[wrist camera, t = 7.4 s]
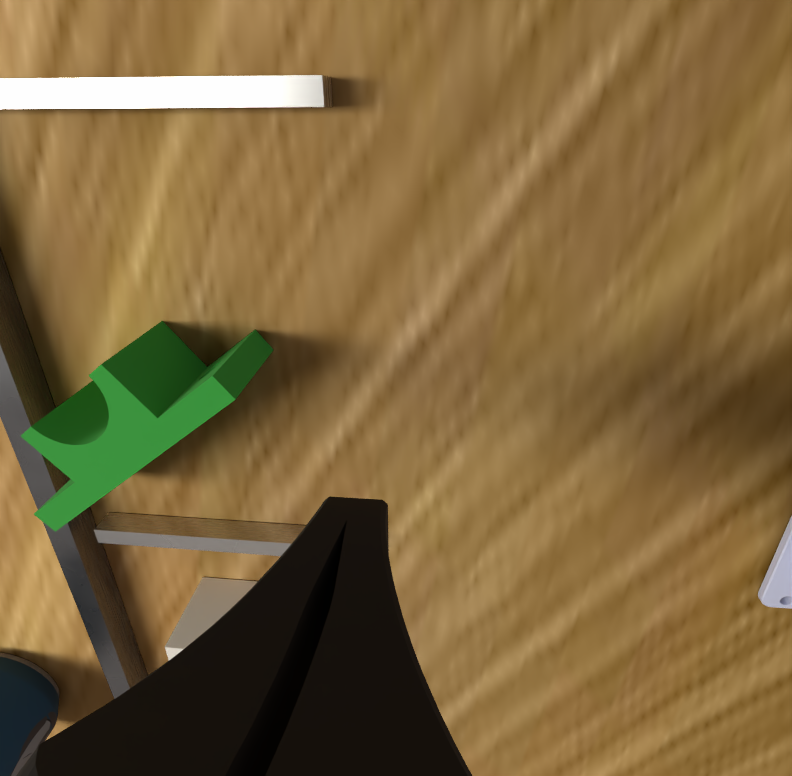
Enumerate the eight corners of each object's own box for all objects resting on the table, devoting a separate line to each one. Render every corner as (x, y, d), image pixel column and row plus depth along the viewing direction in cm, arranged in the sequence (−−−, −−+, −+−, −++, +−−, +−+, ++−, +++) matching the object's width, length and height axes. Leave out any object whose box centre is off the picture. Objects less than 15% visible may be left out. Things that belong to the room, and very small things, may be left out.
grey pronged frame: (330, 77, 16) (319, 74, 15) (367, 759, 33) (363, 786, 32) (-92, 82, 18) (-136, 80, 16) (151, 736, 35) (139, 761, 33)
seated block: (279, 583, 27) (252, 655, 23) (298, 715, 32) (279, 790, 28) (202, 577, 27) (164, 647, 24) (234, 708, 32) (206, 782, 29)
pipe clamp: (212, 277, 20) (155, 315, 16) (275, 347, 21) (236, 399, 17) (53, 415, 24) (-23, 473, 20) (114, 469, 25) (53, 534, 21)
